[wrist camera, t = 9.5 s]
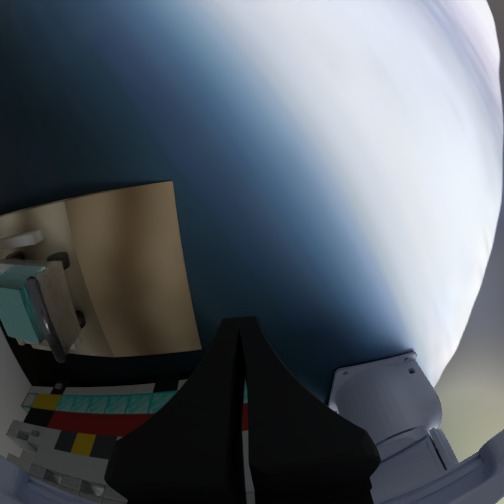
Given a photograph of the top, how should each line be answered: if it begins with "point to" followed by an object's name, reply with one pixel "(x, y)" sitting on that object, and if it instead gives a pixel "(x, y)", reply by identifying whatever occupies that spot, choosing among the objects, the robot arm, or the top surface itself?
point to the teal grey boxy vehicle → (39, 302)
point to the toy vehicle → (92, 432)
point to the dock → (114, 267)
